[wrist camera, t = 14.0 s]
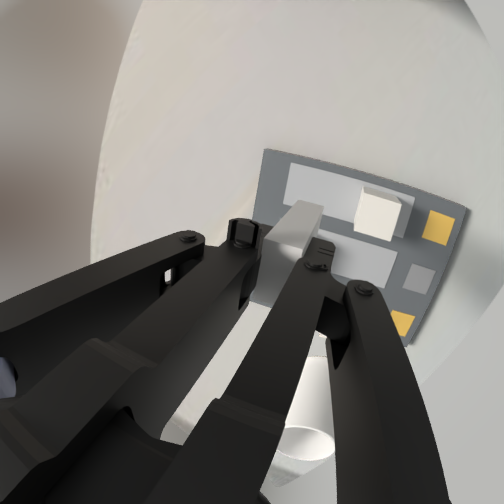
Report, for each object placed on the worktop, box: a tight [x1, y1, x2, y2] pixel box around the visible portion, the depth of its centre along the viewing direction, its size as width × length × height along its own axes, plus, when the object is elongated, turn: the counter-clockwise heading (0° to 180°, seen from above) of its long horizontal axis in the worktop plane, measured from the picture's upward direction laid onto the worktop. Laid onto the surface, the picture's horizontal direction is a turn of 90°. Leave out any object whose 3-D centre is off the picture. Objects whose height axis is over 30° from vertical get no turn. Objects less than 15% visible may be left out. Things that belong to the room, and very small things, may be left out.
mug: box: [276, 356, 335, 461], centre depth 34 cm, size 12×9×12 cm
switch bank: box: [249, 149, 467, 347], centre depth 31 cm, size 18×22×1 cm
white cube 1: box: [354, 186, 402, 241], centre depth 26 cm, size 4×4×4 cm
